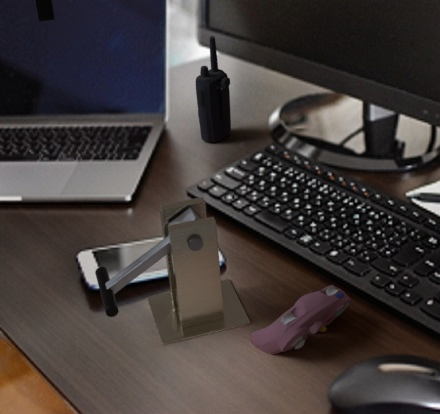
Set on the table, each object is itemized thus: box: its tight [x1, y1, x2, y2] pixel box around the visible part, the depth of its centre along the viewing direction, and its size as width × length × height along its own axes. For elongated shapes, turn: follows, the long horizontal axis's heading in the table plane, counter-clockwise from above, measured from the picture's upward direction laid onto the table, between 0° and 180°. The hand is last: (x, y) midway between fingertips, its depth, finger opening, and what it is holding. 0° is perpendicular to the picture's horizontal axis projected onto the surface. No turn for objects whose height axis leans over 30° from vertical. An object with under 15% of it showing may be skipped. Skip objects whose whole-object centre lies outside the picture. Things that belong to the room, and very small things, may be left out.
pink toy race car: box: [250, 284, 353, 355], centre depth 82 cm, size 10×5×7 cm, turn 136°
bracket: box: [146, 196, 251, 346], centre depth 83 cm, size 9×8×13 cm
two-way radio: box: [195, 35, 232, 144], centre depth 119 cm, size 6×4×15 cm
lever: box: [94, 207, 201, 318], centre depth 81 cm, size 12×7×2 cm
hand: (45, 16), depth 82 cm, fingers closed
